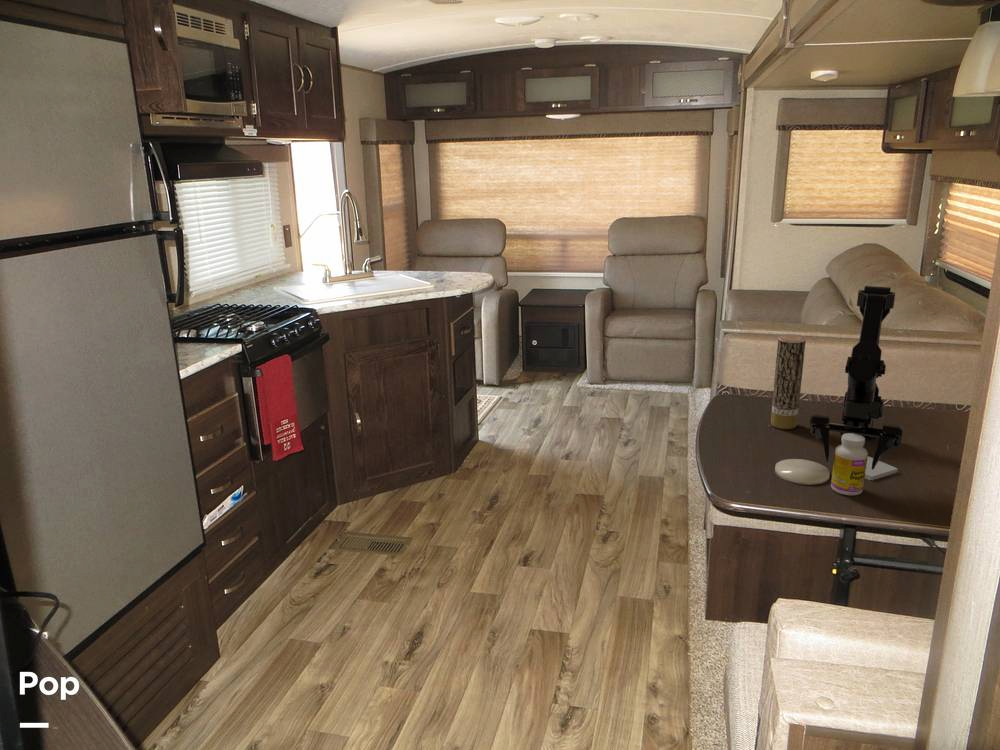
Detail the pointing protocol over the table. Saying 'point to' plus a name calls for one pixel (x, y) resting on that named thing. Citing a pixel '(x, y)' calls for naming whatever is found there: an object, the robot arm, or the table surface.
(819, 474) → the round coaster
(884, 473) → the square tile
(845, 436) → the supplement bottle
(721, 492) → the table surface
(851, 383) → the robot arm
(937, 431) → the table surface
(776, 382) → the paper tube
